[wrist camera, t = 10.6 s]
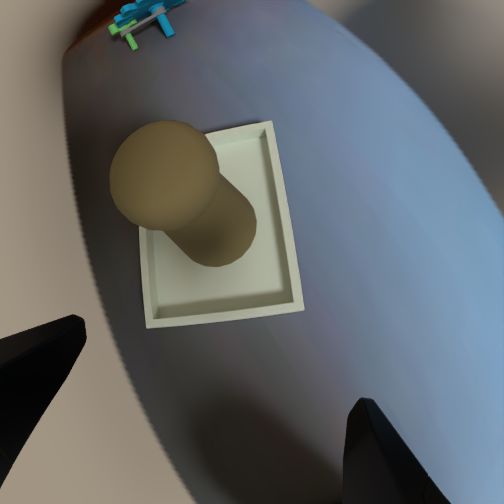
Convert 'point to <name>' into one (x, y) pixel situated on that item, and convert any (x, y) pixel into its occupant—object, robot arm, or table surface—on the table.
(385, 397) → the table surface
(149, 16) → the gear
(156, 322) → the tray
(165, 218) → the cork
